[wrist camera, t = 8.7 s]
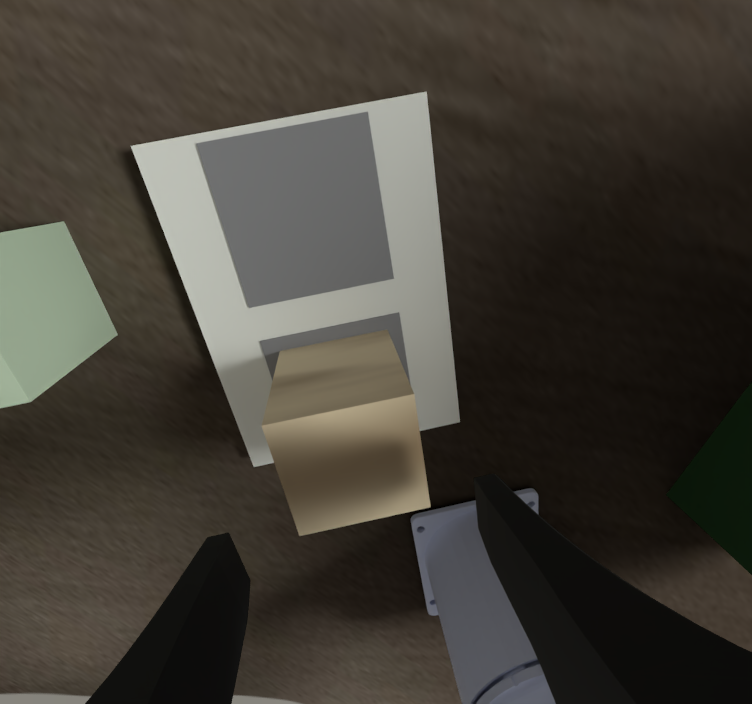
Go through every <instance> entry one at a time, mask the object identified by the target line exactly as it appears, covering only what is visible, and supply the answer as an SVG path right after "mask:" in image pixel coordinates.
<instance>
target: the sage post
mask: <svg viewBox="0 0 752 704" xmlns="http://www.w3.org/2000/svg"><path fill="white" fill-rule="evenodd" d="M117 335H118V334H117V332H116V330H115V328H114V326H113V324H112V322H111V319H110V317H109V315H108V313H107V311H106V309H105V307H104V305H103V303H102V301H101V298H100V296H99V294H98V292H97V290H96V288H95V286H94V284H93V282H92V279H91V277H90V275H89V273H88V271H87V269H86V267H85V265H84V263H83V261H82V258H81V256H80V254H79V252H78V250H77V248H76V246H75V244H74V242H73V240H72V237H71V235H70V233H69V231H68V229H67V227H66V225H65V223H64V221H63V222H57V223H52V224H46V225H41V226H35V227H29V228H24V229H18V230H12V231H7V232H1V233H0V408H4V407H9V406H14V405H19V404H23V403H28V402H31V401H33V400H34V399H35V398H37V397H38V396H39V395H40V394H42V393H43V392H44V391H46V390H47V389H48V388H50V387H51V386H52V385H53V384H55V383H56V382H57V381H59V380H60V379H61V378H62V377H64V376H65V375H66V374H68V373H69V372H70V371H71V370H73V369H74V368H75V367H77V366H78V365H79V364H81V363H82V362H83V361H84V360H86V359H87V358H88V357H90V356H91V355H92V354H93V353H95V352H96V351H97V350H99V349H100V348H101V347H102V346H104V345H105V344H106V343H108V342H109V341H110V340H112V339H113V338H114V337H115V336H117Z"/></svg>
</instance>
